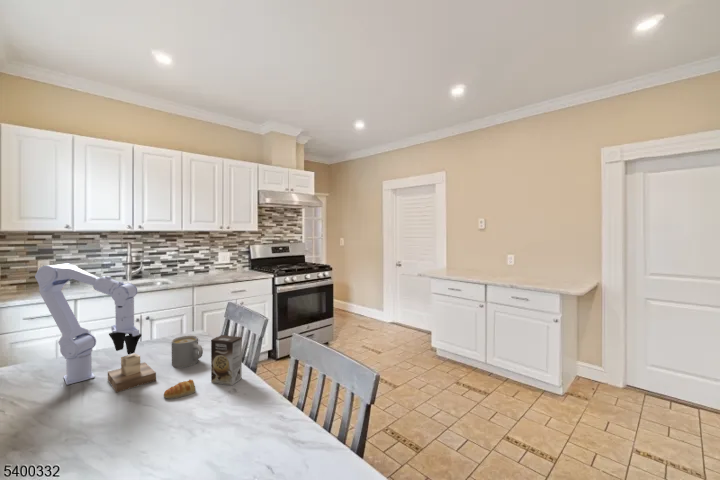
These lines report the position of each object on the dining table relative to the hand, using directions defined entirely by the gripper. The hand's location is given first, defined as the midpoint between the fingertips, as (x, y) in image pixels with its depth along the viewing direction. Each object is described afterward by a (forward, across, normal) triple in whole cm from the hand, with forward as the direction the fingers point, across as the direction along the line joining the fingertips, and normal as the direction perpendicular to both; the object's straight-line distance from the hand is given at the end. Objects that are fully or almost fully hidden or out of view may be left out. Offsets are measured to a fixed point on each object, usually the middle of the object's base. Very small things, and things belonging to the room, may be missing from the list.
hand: (125, 351), depth 122 cm
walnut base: (+10, +5, 0) cm, 11 cm away
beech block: (+7, +5, -1) cm, 8 cm away
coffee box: (+10, +36, +15) cm, 41 cm away
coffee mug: (+10, +9, +19) cm, 24 cm away
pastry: (+10, +30, +2) cm, 32 cm away
